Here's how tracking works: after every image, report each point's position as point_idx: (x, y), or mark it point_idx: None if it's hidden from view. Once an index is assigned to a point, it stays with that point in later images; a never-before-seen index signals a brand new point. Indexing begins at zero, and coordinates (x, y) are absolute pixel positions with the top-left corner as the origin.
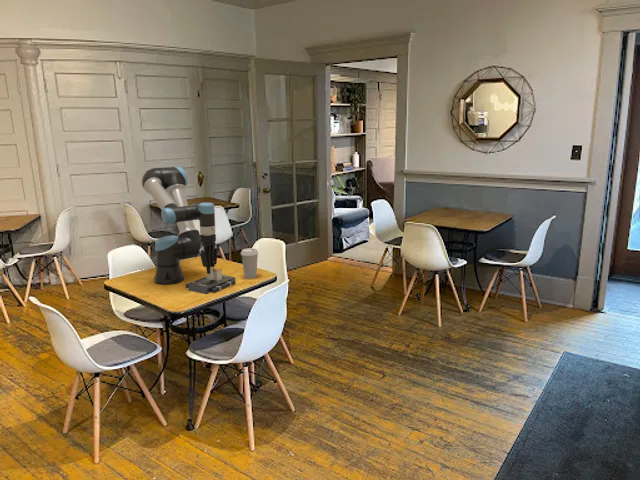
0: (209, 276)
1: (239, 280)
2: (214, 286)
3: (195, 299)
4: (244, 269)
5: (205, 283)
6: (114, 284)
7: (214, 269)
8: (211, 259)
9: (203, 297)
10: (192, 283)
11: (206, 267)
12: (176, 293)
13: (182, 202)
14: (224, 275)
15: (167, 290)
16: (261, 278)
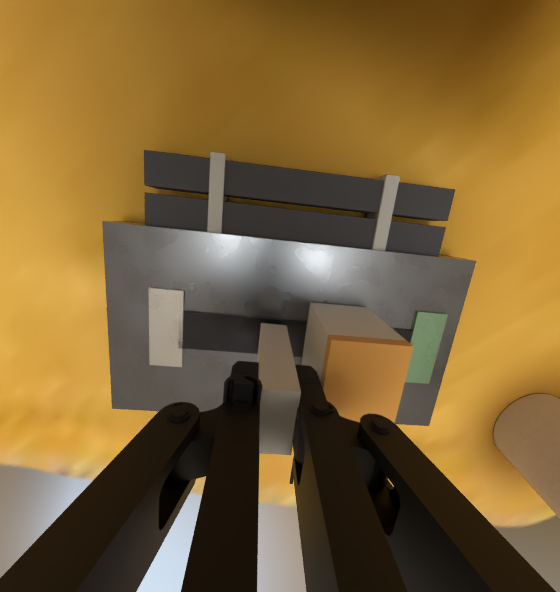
0: (258, 356)
1: (442, 410)
2: (203, 409)
3: (10, 387)
4: (554, 459)
5: (207, 332)
6: None
7: (338, 398)
8: (308, 560)
9: (69, 406)
10: (203, 192)
11: (220, 410)
12: (13, 181)
13: None
14: (449, 335)
15: (17, 38)
16: (505, 491)
